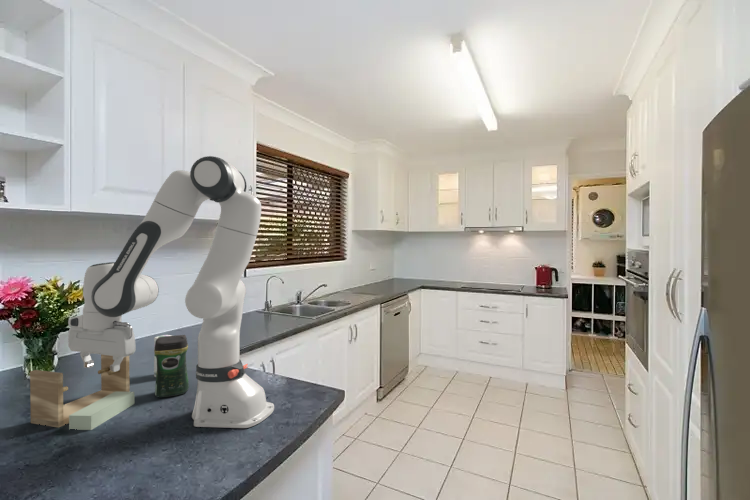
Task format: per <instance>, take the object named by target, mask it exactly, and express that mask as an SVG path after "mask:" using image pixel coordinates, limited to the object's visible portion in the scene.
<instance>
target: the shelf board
mask: <svg viewBox="0 0 750 500" xmlns="http://www.w3.org/2000/svg"><path fill="white" fill-rule="evenodd" d="M135 399H136V398H135V391H130V392H119V391H115V392H113V393H111V394H109V395H108V396H106V397H104V398H102V399H100V400H98V401H96V402H94V403H92V404H90V405H88V406H86V407H84V408H83V409H81V410H79V411H77V412H75V413H73V414H71V415H69V423H68V424H69V425H68V430H70V429H75V431H77V430H78V431H79V430H80V431H92V430H94V429H96V428H97V427H99V426H101V425H103V424H104V423H105V422H107V421H108V420H110V419H112V418H114V417H115V416H117V415H118V414H120V413H122V412H123V411H124V412H125V410H127V409H128V408H130V407H132V406H134V405H135ZM76 429H77V430H76Z"/></svg>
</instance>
